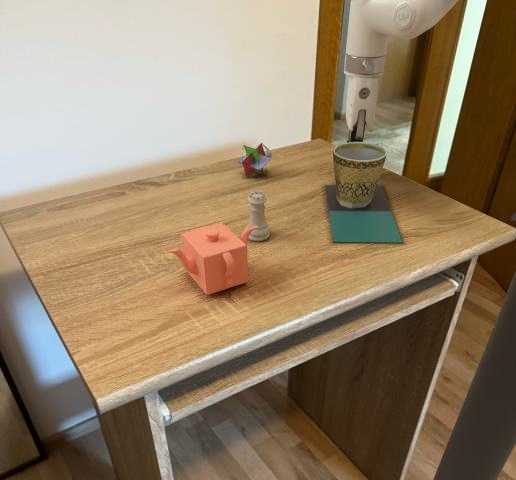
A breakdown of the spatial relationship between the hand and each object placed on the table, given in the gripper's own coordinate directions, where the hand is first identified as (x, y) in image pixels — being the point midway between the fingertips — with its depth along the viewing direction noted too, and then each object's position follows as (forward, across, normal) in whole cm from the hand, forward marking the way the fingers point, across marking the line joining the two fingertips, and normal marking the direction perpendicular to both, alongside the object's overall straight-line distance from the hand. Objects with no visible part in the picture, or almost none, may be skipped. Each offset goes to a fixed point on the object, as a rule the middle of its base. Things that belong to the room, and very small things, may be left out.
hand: (352, 160), depth 105 cm
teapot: (+4, -41, +25) cm, 48 cm away
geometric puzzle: (+4, +1, +21) cm, 22 cm away
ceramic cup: (+4, -11, 0) cm, 12 cm away
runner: (+4, -17, 0) cm, 17 cm away
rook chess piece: (+4, -27, +19) cm, 33 cm away
